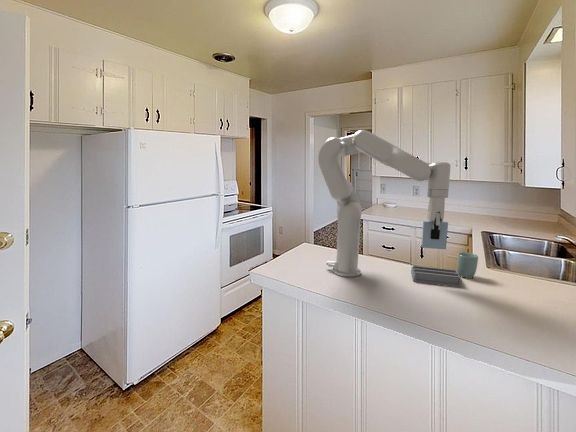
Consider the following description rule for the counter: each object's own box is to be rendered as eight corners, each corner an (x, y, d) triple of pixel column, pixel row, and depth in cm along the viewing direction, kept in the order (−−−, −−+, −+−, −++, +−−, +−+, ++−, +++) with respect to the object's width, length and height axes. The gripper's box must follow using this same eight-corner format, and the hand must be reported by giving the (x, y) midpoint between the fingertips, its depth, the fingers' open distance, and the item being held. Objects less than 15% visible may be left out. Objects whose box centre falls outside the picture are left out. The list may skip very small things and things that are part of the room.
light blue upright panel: (421, 247, 129) (423, 221, 127) (421, 246, 131) (423, 220, 129) (445, 249, 126) (448, 222, 124) (445, 248, 128) (447, 221, 126)
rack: (413, 281, 131) (414, 272, 130) (411, 273, 141) (411, 264, 140) (461, 287, 126) (462, 278, 125) (455, 278, 136) (456, 269, 136)
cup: (457, 272, 144) (460, 251, 142) (476, 276, 139) (479, 254, 137) (453, 276, 138) (456, 254, 136) (473, 281, 133) (476, 258, 132)
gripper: (425, 191, 133) (422, 233, 136) (430, 195, 118) (426, 242, 121) (444, 192, 131) (441, 234, 134) (452, 195, 116) (448, 243, 119)
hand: (434, 238), depth 128 cm, fingers closed on light blue upright panel, 1 cm apart
